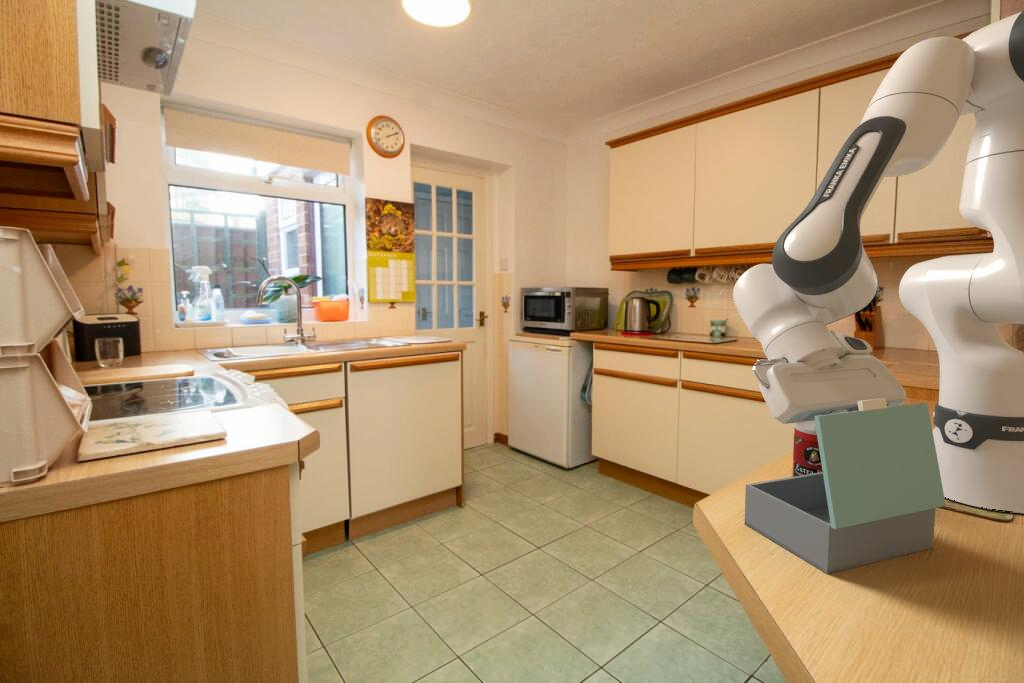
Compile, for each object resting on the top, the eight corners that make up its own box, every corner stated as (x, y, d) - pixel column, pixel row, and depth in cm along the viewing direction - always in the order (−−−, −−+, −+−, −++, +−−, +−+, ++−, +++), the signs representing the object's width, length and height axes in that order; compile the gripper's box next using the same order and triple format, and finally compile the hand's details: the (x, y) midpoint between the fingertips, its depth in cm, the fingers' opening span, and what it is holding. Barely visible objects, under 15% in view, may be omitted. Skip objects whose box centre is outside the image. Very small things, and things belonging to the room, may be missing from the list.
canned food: (786, 489, 81) (788, 426, 80) (799, 476, 86) (802, 417, 85) (839, 503, 75) (843, 435, 74) (850, 488, 81) (854, 425, 80)
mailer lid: (920, 394, 63) (925, 393, 62) (940, 504, 61) (945, 505, 60) (812, 405, 57) (817, 405, 57) (831, 527, 56) (836, 528, 55)
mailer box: (838, 506, 74) (840, 469, 74) (932, 548, 62) (935, 503, 61) (744, 524, 69) (745, 484, 68) (827, 574, 57) (829, 526, 56)
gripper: (760, 346, 63) (823, 440, 55) (875, 340, 69) (947, 424, 60) (734, 374, 68) (788, 464, 59) (844, 366, 73) (907, 447, 65)
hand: (870, 444), depth 60 cm, fingers closed, pressing on mailer lid
